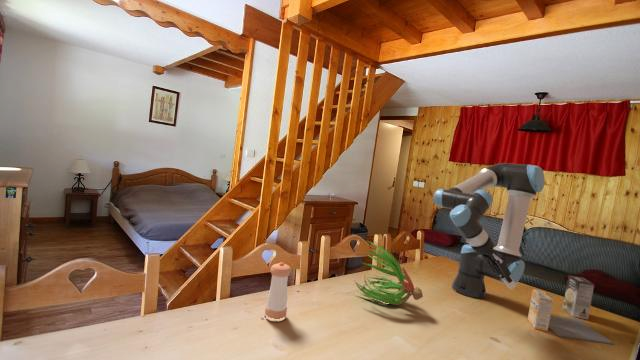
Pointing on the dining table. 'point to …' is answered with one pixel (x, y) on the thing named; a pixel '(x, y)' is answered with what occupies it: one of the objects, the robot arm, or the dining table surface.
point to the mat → (575, 330)
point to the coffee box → (578, 296)
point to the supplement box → (540, 310)
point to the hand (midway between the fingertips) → (512, 286)
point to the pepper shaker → (278, 291)
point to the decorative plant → (401, 285)
